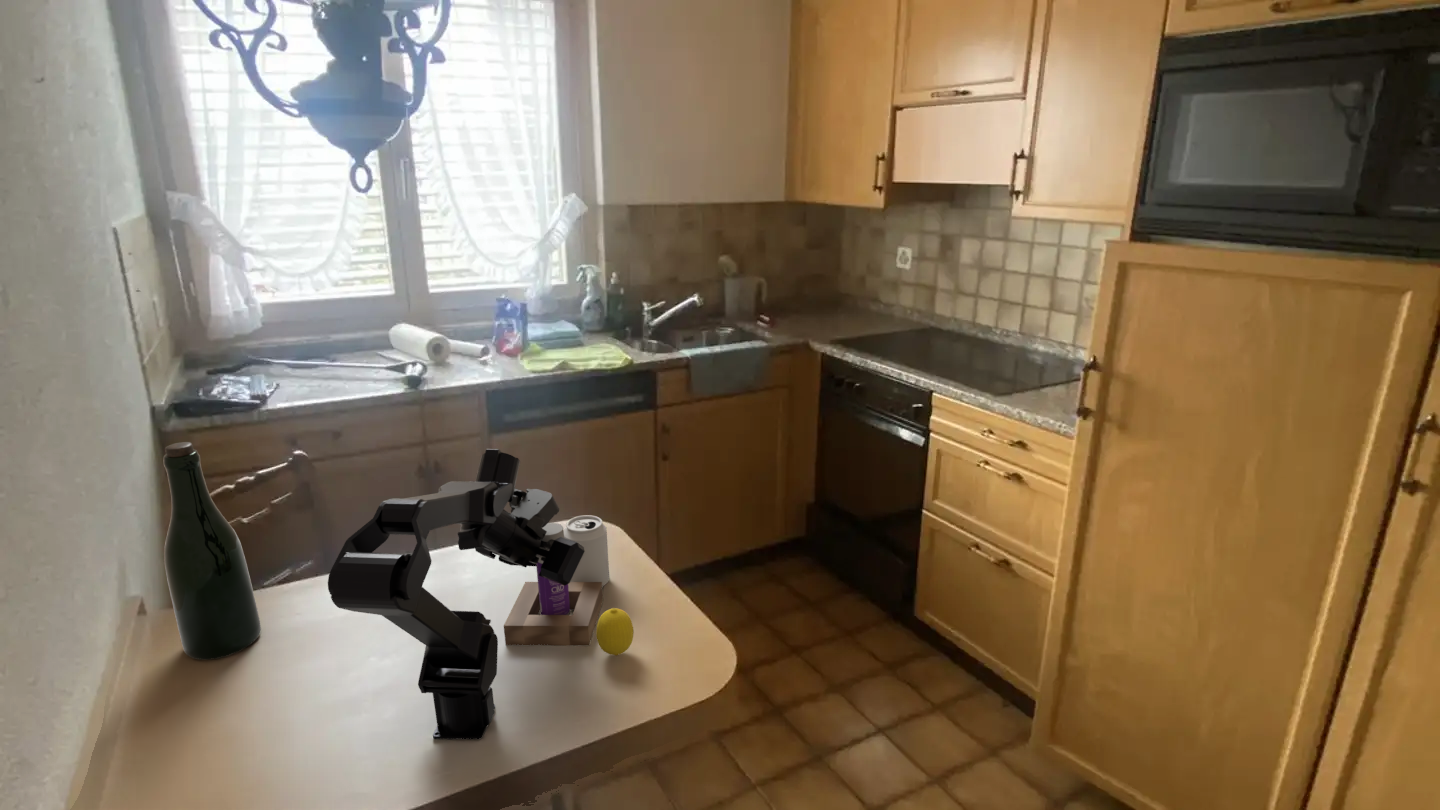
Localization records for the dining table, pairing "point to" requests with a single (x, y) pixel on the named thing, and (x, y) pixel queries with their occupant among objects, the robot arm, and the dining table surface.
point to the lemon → (614, 631)
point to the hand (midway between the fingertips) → (558, 567)
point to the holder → (554, 617)
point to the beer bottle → (205, 565)
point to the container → (550, 592)
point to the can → (589, 548)
